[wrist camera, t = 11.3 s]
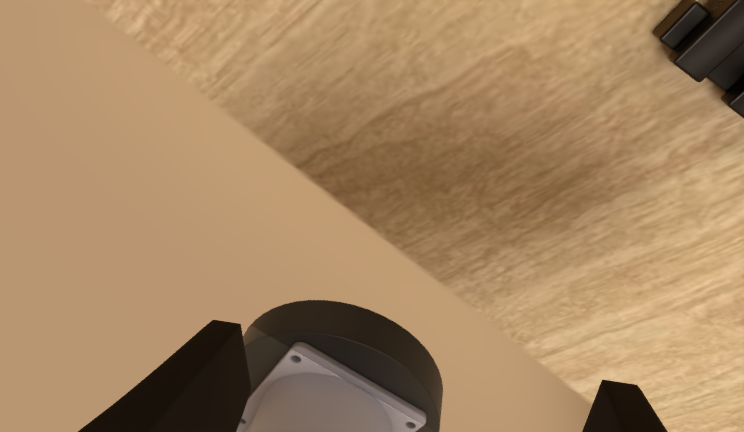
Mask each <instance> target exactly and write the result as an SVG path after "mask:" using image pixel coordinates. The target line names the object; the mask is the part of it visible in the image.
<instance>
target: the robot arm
mask: <svg viewBox="0 0 744 432" xmlns="http://www.w3.org/2000/svg"><path fill="white" fill-rule="evenodd" d="M297 356H298V357H297ZM251 389H252V388H251V382H250V376H249V370H248V365H247V359H246V353H245V347H244V342H243V336H242V330H241V325H240V324H237V323H231V322H224V321H218V320H213V321H211V322H210V323H209V324H207V325H206V326H205V327H204V328H203V329H202V330H200V331H199V332H198V333H197V334H196V335H195V336H194V337H192V338H191V339H190V340H189V341H188V342H187V343H186V344H184V345H183V346H182V347H181V348H180V349H179V350H177V351H176V352H175V353H174V354H173V355H172V356H171V357H169V358H168V359H167V360H166V361H165V362H164V363H163V364H161V365H160V366H159V367H158V368H157V369H156V370H154V371H153V372H152V373H151V374H150V375H148V376H147V377H146V378H145V379H144V380H142V381H141V382H140V383H139V384H138V385H137V386H135V387H134V388H133V389H132V390H130V391H129V392H128V393H127V394H126V395H124V396H123V397H122V398H121V399H119V400H118V401H117V402H116V403H114V404H113V405H112V406H111V407H109V408H108V409H107V410H105V411H104V412H103V413H102V414H100V415H99V416H98V417H97V418H95V419H94V420H92V421H91V422H90V423H89V424H87V425H86V426H85V427H83V428H82V429H81V430H80V431H78V432H416V431H417V430H418V429H420V428H421V427H422V426H423V425H425V423H426V414H425V413H424V412H423V411H422V410H420V409H418V408H417V407H415V406H413V405H412V404H410V403H408V402H406V401H405V400H403V399H401V398H400V397H398V396H396V395H394V394H393V393H391V392H389V391H388V390H386V389H384V388H382V387H381V386H379V385H377V384H376V383H374V382H372V381H370V380H369V379H367V378H365V377H364V376H362V375H360V374H358V373H357V372H355V371H353V370H352V369H350V368H348V367H346V366H345V365H343V364H341V363H340V362H338V361H336V360H334V359H333V358H331V357H329V356H328V355H326V354H324V353H322V352H321V351H319V350H317V349H316V348H314V347H312V346H310V345H309V344H307V343H305V342H296V343H294V344H293V345H292V347H291V348H290V349H289V350H288V351H287V353H286V354H285V355H284V356H283V357H282V358H281V360H280V361H279V362H278V363H277V364H276V366H275V367H274V368H273V369H272V370H271V372H270V373H269V374H268V375H267V376H266V377H265V379H264V380H263V381H262V382H261V383H260V385H259V386H258V387H257V388H256V389H255V391H254V392H253V393H252V394H251V395H250V392H251ZM249 395H250V397H249ZM582 432H667V430H666V429H665V427H664V426H663V424H662V422H661V421H660V419H659V418H658V416H657V415H656V413H655V411H654V410H653V408H652V407H651V405H650V403H649V402H648V400H647V399H646V397H645V396H644V394H643V392H642V391H641V390H640V388H639V387H638V386H637V385H633V384H627V383H620V382H614V381H607V380H602V382H601V385H600V387H599V390H598V392H597V395H596V397H595V400H594V403H593V405H592V408H591V410H590V413H589V416H588V419H587V421H586V423H585V426H584V429H583V431H582Z"/></svg>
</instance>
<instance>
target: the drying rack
mask: <svg viewBox="0 0 744 432" xmlns="http://www.w3.org/2000/svg"><path fill="white" fill-rule="evenodd" d="M653 35H654V36H655V37H656V38H657V39H658V40H659V41H661V42H662V43H663V44H664V45H666V46H667V47H668V48H670V49H671V50H672V51H673V52H672V53H671V54H670V55H669V56H668V58H669V60H670V61H672V62H673V63H674V64H675V65H676V66H677V67H679V68H680V69H681V70H683V71H684V72H685V73H686V74H688V75H689V76H690V77H692V78H693V79H694V80H695V81H697V82H701V81H702V80H703V79H704V78H708V79H709V80H710V81H711V82H713V83H714V84H715V85H717V86H718V87H719V88H720V89H722V90H723V91H724V92H725V94H724V95H723V96H722V97H721V100H722V101H723V102H724V103H725V104H726V105H727V106H729V107H730V108H731V109H732V110H734V111H735V112H736V113H737V114H739V115H740V116H741V117H743V118H744V0H724V1H723V2H722V3H721V4H720V5H719V6H718V7H717V8H716V9H715V10H714V11H713V12H712V13H711V12H709V11H708V10H707V9H706V8H704V7H703V6H702V5H701V4H700V3H698V2H697V1H695V0H683V1H682V2H681V3H680V5H679V6H678V7H677V8H676V9H675V10H674V11H673V12H672V13H671V14H670V15H669V16H668V17H667V18H666V19H665V20H664V21H663V22H662V23H661V24H660V25H659V26H658V27H657V28H656V29H655V31H654V32H653Z"/></svg>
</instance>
